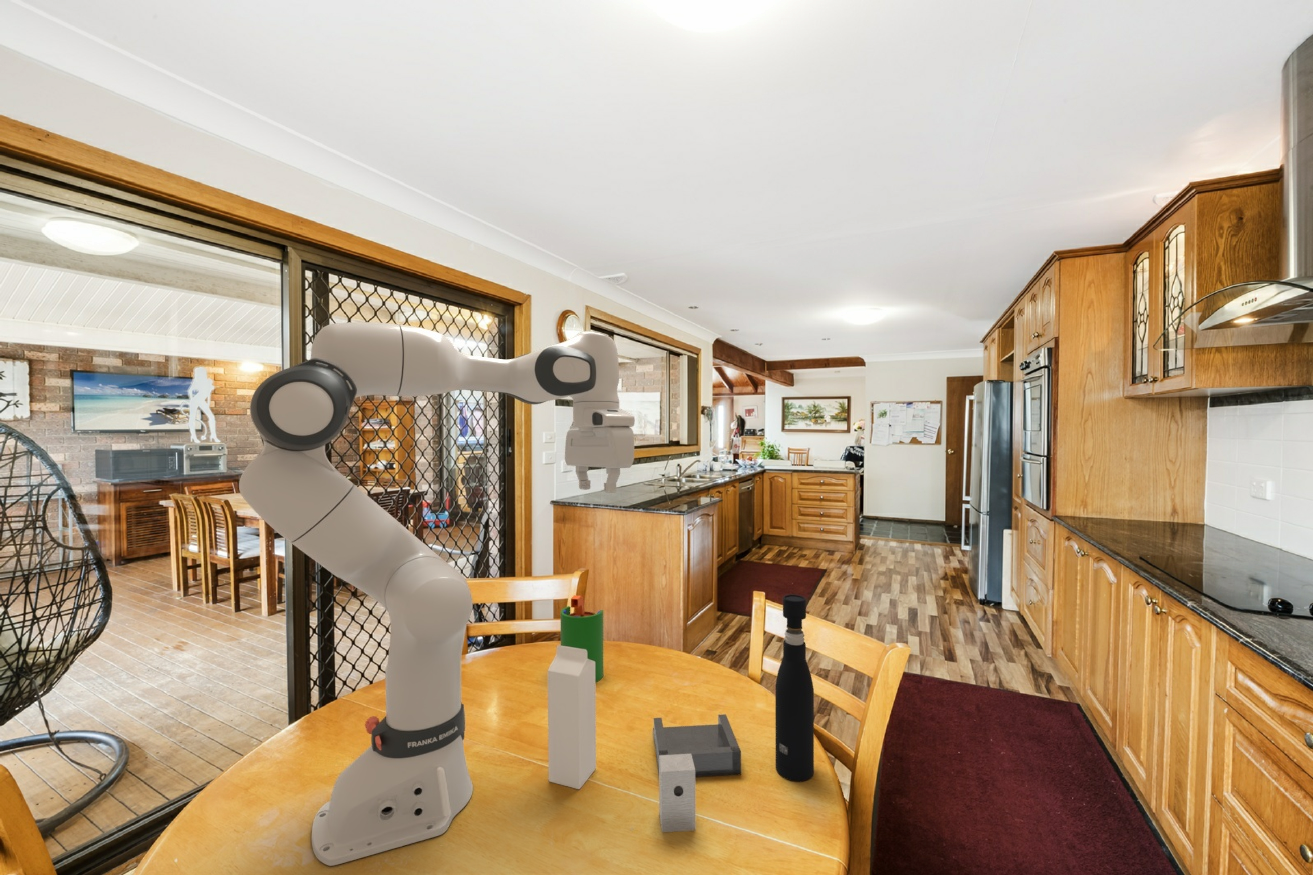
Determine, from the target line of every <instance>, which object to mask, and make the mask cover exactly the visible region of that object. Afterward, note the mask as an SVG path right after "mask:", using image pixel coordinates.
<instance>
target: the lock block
mask: <svg viewBox="0 0 1313 875" xmlns="http://www.w3.org/2000/svg"><path fill="white" fill-rule="evenodd" d="M658 786H659V787H658V789H659V791H658V794H659V795H658V799H659V800H658V801H659V802H658V806H659V807H658V808H659V812H658V814H659V820H660V821H659V823H660V829H661V833H673V832H688V831H689V832H691V831H696V829H697V828H696V824H697V823H696V777H695V767H694V763H693V759H692V755H691V754H675V755H659V772H658Z"/></svg>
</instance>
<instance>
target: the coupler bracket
mask: <svg viewBox="0 0 1313 875" xmlns="http://www.w3.org/2000/svg"><path fill="white" fill-rule="evenodd" d="M717 716H718V717H717V720H718V722H717V723H716V724H699V725H684V726H683V725H681V726H664V725H663V718H662V717H653V728H652V736H653V742H654V750H655V757H656V763H657V772H658V773H659V755H675V754H691V755H692V759H693V763H694V767H695V778H704V777H709V778H710V777H721V776H738V774H740V776H741V775H742V751H741V748H740V745H739V743H738V741H737V738H736V736H735V733H734V730H733V728H732V725H731V723H730V721H729V719H728V716H727V714H718V715H717Z"/></svg>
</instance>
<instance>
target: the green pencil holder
mask: <svg viewBox="0 0 1313 875" xmlns="http://www.w3.org/2000/svg"><path fill="white" fill-rule="evenodd" d="M571 608H574V609H575V610H574V612H572V613H571ZM560 646H567V647H573V648H579V649H585V650H587V659H590V660H592V661H595V683H597V682H599V681H600V680H602V678H604V610H603V609H602V610H599V611H597V613H595V612H591V611H585V602H584V596H583V595H577V594H576V595H573V596H572V597H571V598H570V606H566V607H563V608H562V609H561V610H560Z"/></svg>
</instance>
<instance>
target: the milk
mask: <svg viewBox="0 0 1313 875" xmlns="http://www.w3.org/2000/svg"><path fill="white" fill-rule="evenodd" d="M596 692H597V691H596V682H595V661H592V660H590V659H587V650H585V649H579V648H573V647H567V646H561V644H558V645H557V646H556V654H555V656H554V658H553V660H552V662H551V664H550V665H549V667H548V669H547V727H548V728H547V731H548V732H547V733H548V734H547V736H548V737H547V738H548V739H547V741H548V742H547V744H548V747H547V748H548V749H547V750H548V782H549V783H553V784H557V785H561V786H566V787H569V788H573V789H576V790H581V788H582V787H583V786H584V785H585V784H586V782H587V781H588V779H589V778H590V777H591V775H592V774H593V773H594V772H595V770H596V769H597V738H596V737H597V736H596V735H597V730H596V729H597V726H596V725H597V724H596V721H597V718H596V717H597V716H596V714H597V713H596V711H597V710H596V709H597V708H596V704H597V703H596V702H597V701H596V698H597V697H596Z"/></svg>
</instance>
